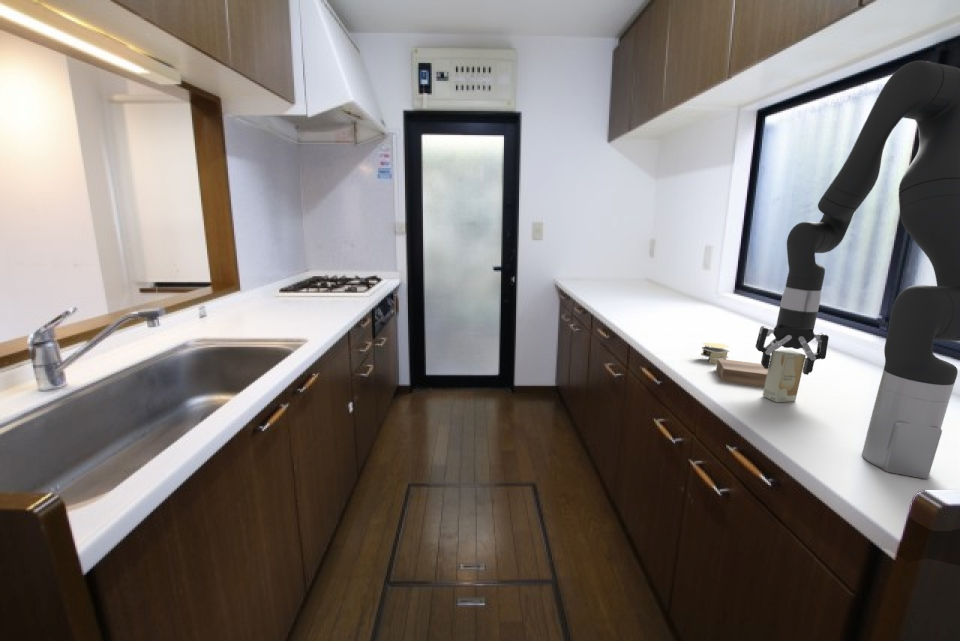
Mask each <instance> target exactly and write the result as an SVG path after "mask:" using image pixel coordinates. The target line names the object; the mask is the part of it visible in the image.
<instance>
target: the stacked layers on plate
mask: <svg viewBox="0 0 960 641" xmlns="http://www.w3.org/2000/svg"><path fill="white" fill-rule="evenodd" d="M702 345H704V346H702V347H701V349H702V352H701V353H700V355H701V357H705V358H708V361H709V362H708V363H710V364H713V365H714V364H715V365H717V361H718V359H725V360H727V359H729V356H728V352H730V350H729V349H726V348H730V346H729V345H726V344H724V343H719V342H703V343H702Z"/></svg>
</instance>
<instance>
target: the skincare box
mask: <svg viewBox="0 0 960 641" xmlns="http://www.w3.org/2000/svg"><path fill="white" fill-rule="evenodd" d="M770 355H771V358H770V363H769V368H768V373H767V378H766V382H765V387H763V390H762V391H763V393H762V396H763V397H764V398H766V399H769V400H771V401H773V402H775V403H784V402H785V403H786V402H795V401H797V394H798V391H799V387H800V382H801V377H802V373H803V367H804V362H805V358H807V355H806V354H804V353H801V352H798V351H795V350H792V349H790V350H789V349H788V350H787V349H785V350H784V349H783V350H779V349H778V350H775V351H773V352H772V353H771V354H770Z"/></svg>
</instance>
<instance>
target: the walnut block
mask: <svg viewBox="0 0 960 641" xmlns="http://www.w3.org/2000/svg"><path fill="white" fill-rule="evenodd" d="M715 371H716V373H717V375H718V377H719V378H720V380H721V382H723V383H724V382H725V383H731V384H738V385H745V384H746V386H753V387H761V388H764V387H765V382H766V378H767V373H768V369H764V367H763V366H762V364H761V363H757V362H747V361H741V360H740V361H739V360H730V359H726V360H725V359H718V361H717V364H716V368H715Z"/></svg>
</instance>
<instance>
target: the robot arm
mask: <svg viewBox="0 0 960 641" xmlns="http://www.w3.org/2000/svg"><path fill="white" fill-rule="evenodd" d="M902 119H907V120H908V119H909V120H914V121H915V123H916V125H917V128H918V130H917V131H918V139H919V145H918V150H917V152H916V155H915V157H914V158H913V160H912V162H911V163H910V164H909V166H908V168H907V169H906V171H905V173H904V174H903V176H902V177H901V180H900V182H899V185H898V186H899V187H898V205H899V206H898V207H899V208H898V209H899V218H900V222H901V224H902V226H903V228H904V229H905V231H906V232H907V233H908V235H909V236H910V237H911V239H913V241H914V242H915V244H916V245H917V246H918V247H919V248H920V249H921V251H922V252H923V253H924V254H925V255H926V257H927V258H928V260H929V261H930V263H931V265H932V268H933V272H934V276H935V281H936V285H928V284H927V285H920V284H917V285H911V286H908V287H906V288H904V289H903V290H902V291H900V293H899V294H898V295H897V297H896V298H895V300H894V303H893V305H892V308H891V312H890V317H889V322H888V328H887V333H886V339H885V342H884V354H883V355H884V366H883V369H882V373H881V374H882V375H881V377H880V378H881V379H880V382H879V385H878V389H877V392H876V397H875V402H874V404H873V408H872V413H871V416H870V420H869V424H868V427H867V432H866V436H865V440H864V444H863V448H862V451H861V455H862V457H863V458H864V460H866V461H867V462H870V463H871V464H872V465H874V466H877V467H879V468H880V469H882V470H883V471H884V472H887V473H891V474H892V473H893V474H896V475H897V474H898V475H902V476H903V475H904V476H908V477H915V478H920V479H924V480H925V479H926V480H929V476H930V473H931V471H932V466H933V464H934V460H935V457H936V453H937V450H938V446H939V444H940V440H941V437H942V434H943V430H942V426H943V424H944V419H945V416H946V413H947V409H948V406H949V403H950V401H951V396H952V392H953V389H954V388H955V387H954V386H955V383H956V381H957V380H956V379H957V376H958V372H959V371H958V368H957V366H956V365H955V364H953V363H951V362H948V361H946V360H943V359H942V358H939V357H937V356H936V355H934V353H933V352H934V351H933V349H934V341H947V342H960V68H959V67H956V66H953V65H948V64H943V63H938V62H932V61H925V60H914V61H910V62H908V63H906V64H904V65H902V66H901V67H899V68H898V69H897V70H895V72H893V73H892V75H891V76H890V78H888V79H887V81H886V83H885V84H884V85H883V87H882V89H881V90H880V92H879V93H878V96H877V97H876V100H875V101H874V104H873V105H872V108H871V109H870V111H869V114H868V116H867V118H866V120H865V122H864V124H863V126H862V127H861V129H860V132H859V134H858V136H857V137H856V140H855V142H854V144H853V146H852V148H851V151H850V153H849V155H848V156H847V158H846V160H845V162H844V164H843V165H842V166H841V169H840V170H839V171H838V173H837V175H836V176H835V177H834V179H833V180H832V182H831V183H830V184H829V186H828V187H827V189H826V191H825V192H824V193H823V195H822V197H821V198H820V199H819V201H818V204H817V209H818V210H819V212H820V213H822V214H823V215H822V217H821V219H820V221H801V222H798V223H797V224H796V225H794V226H793V227H792V228H791V230H790V232H789V233H788V236H787V239H786V252H787V253H786V254H787V264H788V274H787V276H786V277H787V278H786V281H785V282H786V283H785V287H784V290H783V292H782V296H781V300H780V306H779V311H778V316H777V320H776V325H775V327H774V328H772V327H771V328H770V327H766V326H765V325H761V326H760V328H759V332H758V336H757V340H756V344H755V348H756V350H757V351H758V352H760V353H762V355H761V361H760V364H762V366H763V367H764V369H768V368H769V364H770V359H771V354H772V352H773V351H777V350H779V349H780V348H781V347H783V348H785V349H790V348H791V349H795V350H799V349H802V351H803V353H805V354H804V355H806V357H805V361H804V365H803V370H802V373H803V375H807V376H809V374H810V373H812V372H813V370H814V364H815V361H817V360H825V359H826V357H827V350H828V345H829V339H830V338H829V335H828V334H826V333H824V332H820V333H816V332H814V330H815V325H816V323H817V322H816V320H817V317H818V312H819V309H820V308H819V307H820V303H821V292H822V288H823V285H824V284H823V283H824V279H825V275H826V274H825V273H826V268H825V267H824V266H823V265H821V264H818V263H816V254H825V253H829V252H831V251H833V250H834V249H836V248H837V247H838V246H839V245H840V243H842V241H843V240H844V238H845V235H846V234H847V231H848V229H849V227H850V224H851V222H852V219H853V216H854V214H855V212H857V210H858V208H859V207H861V205H862V204H863V202H864V201H865V199H866V198H867V197H868V196H869V194H870V193H871V191H872V190H873V188H874V187H875V185H876V183H877V181H878V178H879V176H880V171H881V165H882V159H883V154H884V149H885V146H886V142H887V141H888V139H889V137H890V135H891V134H892V132H893V130H894V129H895V127H896V126H897V125H898V124H899V122H901V121H902ZM771 334H773V336H774V337H775V338H774V339H773V340H771V341H770V342H769V343H768V344H767V345H766V346H765V343H766V340H767V338H768V337H770V335H771ZM814 339H815V342H816V343H817V348H816V352H813V350H812V349H811V346H810V345H809V343H810V342H811V341H812V340H814Z"/></svg>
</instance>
